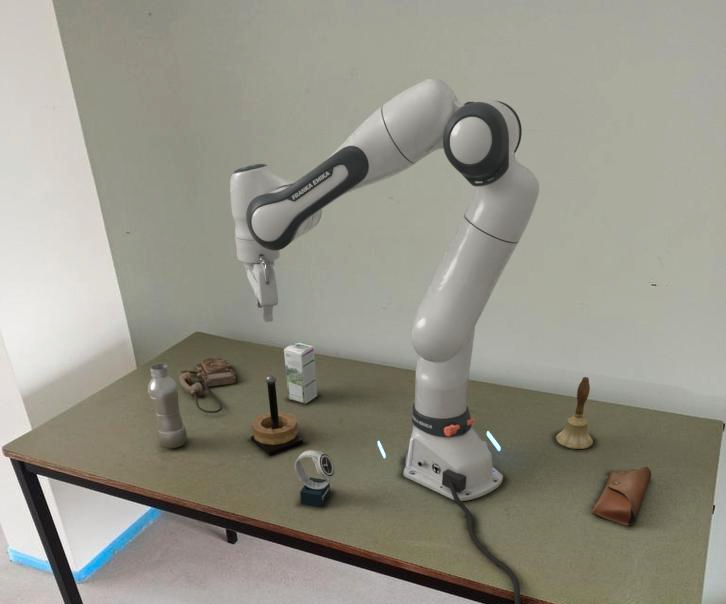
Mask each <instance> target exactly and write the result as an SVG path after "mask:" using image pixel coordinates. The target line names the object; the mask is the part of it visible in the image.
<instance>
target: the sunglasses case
mask: <svg viewBox="0 0 726 604" xmlns="http://www.w3.org/2000/svg"><path fill="white" fill-rule="evenodd" d="M651 478H652V471H651V469H650V467H648V466H643V467H640V468H634V469H633V468H632V469H624V470H616V471H610V472H609V475H608V479H607V481H606V484H605V486H604V488H603V491H602V492H601V494H600V496H599V498H598V500H597V502H596V503H595V504H594V507H593V508H592V510H591V512H592V513H593V514H594V515H595V516H597V517H599V518H602V519H604V520H607V521H610V522H613V523H616V524H620V525H621V526H622V525H623V526H627V527H628V526H632V525H633V524H636V521H637V518H638V516H639V513H640V511H641V507H642V505H643V502H644V499H645V496H646V493H647V491H648V488H649V484H650V482H651Z"/></svg>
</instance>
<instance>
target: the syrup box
mask: <svg viewBox="0 0 726 604" xmlns="http://www.w3.org/2000/svg"><path fill="white" fill-rule="evenodd" d="M283 354H284V355H283V356H284V365H285V375H286V386H287V387H286V388H287V397H288V400H290V401H294V402H297V403H300V404H304V405H306V404H307V403H309V402H311V401H312V400H314V399H315V398H316V397H318V390H317V377H316V361H315V357H316V356H315V348H314V345H311V344H310V345H309V344H305V343H302V342H298V341H297V342H294V343H291V344H290V345H288V346H287V347H285V348H284V349H283Z"/></svg>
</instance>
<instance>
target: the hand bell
mask: <svg viewBox="0 0 726 604" xmlns="http://www.w3.org/2000/svg"><path fill="white" fill-rule="evenodd" d="M590 390H591V385H590V378H589V377H587V376H583V377H582V379H581V381H580V383H579V384H578V386H577V391H576V399H577V401H576V402H577V404H576V408H575V412H574V415H572V416H570V417H568V418H567V421H566V424H565V427H564V428H563V430H562V431H559V432H558V433H557V435H556V437H555V440H556V442H557V443H558V444H559V445H560V446H563V447H565V448H567V449H573V450H583V449H588V448H590V447H591V446H592V445H593V444H594V441H593V438H592V436H591V435H590V434H589V429H588V423H589V422H588V420H587V418H585V417H584V416H583V415H584V408H585V405H586V404H585V403H586V402H587V400H588V398H589V395H590Z"/></svg>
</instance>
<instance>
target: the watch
mask: <svg viewBox="0 0 726 604" xmlns="http://www.w3.org/2000/svg"><path fill="white" fill-rule="evenodd" d="M303 458H311V459H312V462H313V463H314V465H315V469H316V472H317V474H318V475H319V476H320V477H321V478H317V477H311V476H310V477H309V475H308V474H307V473H306V471H305V469H304V467H303V464H301V459H303ZM293 471H294V473H295V475H296V477H297V478H298V481H299V482H300V484H302V485H303V487H302V488H301V490H300V491H299V494H300V505H303V506H309V507H316V508H320V509H321V508H322V507H323V505H324V503H325V502H326V501H327V498H328V497H329V495H330V493H331V484H330V482H331V481H332V480H333V477H334V475H335V464H334V461H333V459H332V458H331V457H330V455H329V454H327V453H323V452H322V451H320V450H319V451H318V450H314V449H308V450H305V451H303V452H302V453H300V454H299V456H298V457H297V459H295V461H294V469H293Z"/></svg>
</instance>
